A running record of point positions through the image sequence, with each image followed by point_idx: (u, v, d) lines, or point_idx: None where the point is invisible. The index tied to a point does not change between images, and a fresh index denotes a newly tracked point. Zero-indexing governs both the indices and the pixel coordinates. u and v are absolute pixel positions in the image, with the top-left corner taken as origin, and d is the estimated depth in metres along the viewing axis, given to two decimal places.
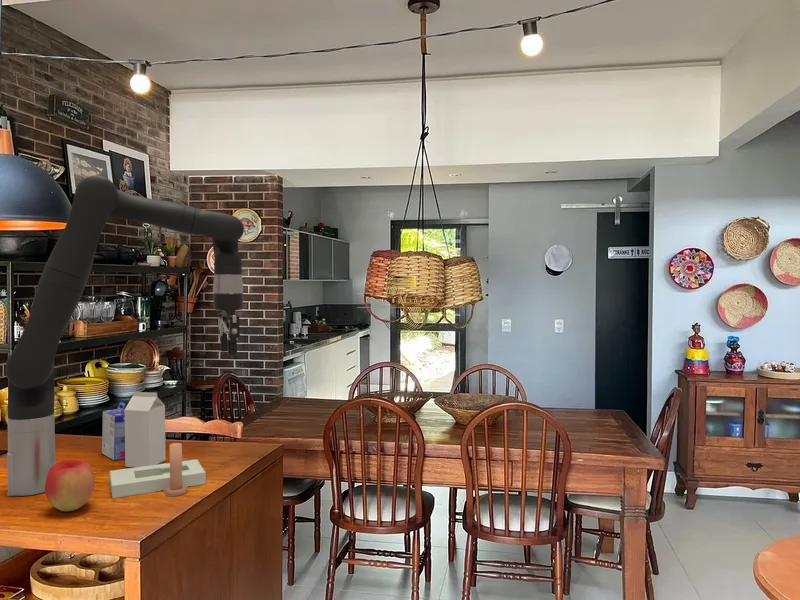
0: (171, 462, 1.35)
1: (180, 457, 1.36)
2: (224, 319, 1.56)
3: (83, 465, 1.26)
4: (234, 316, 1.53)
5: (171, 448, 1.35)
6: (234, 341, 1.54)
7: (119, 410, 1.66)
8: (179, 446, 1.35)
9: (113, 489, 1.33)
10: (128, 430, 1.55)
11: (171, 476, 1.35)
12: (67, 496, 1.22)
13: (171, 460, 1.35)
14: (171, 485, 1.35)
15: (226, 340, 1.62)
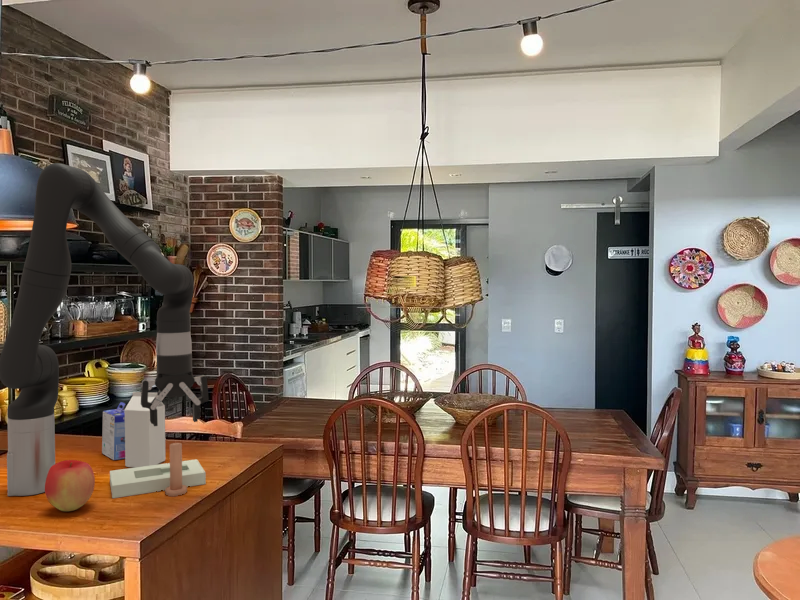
0: (171, 462, 1.35)
1: (180, 457, 1.36)
2: (184, 383, 1.35)
3: (83, 465, 1.26)
4: None
5: (171, 448, 1.35)
6: None
7: (119, 410, 1.66)
8: (179, 446, 1.35)
9: (113, 489, 1.33)
10: (128, 430, 1.55)
11: (171, 476, 1.35)
12: (67, 496, 1.22)
13: (171, 460, 1.35)
14: (171, 485, 1.35)
15: None
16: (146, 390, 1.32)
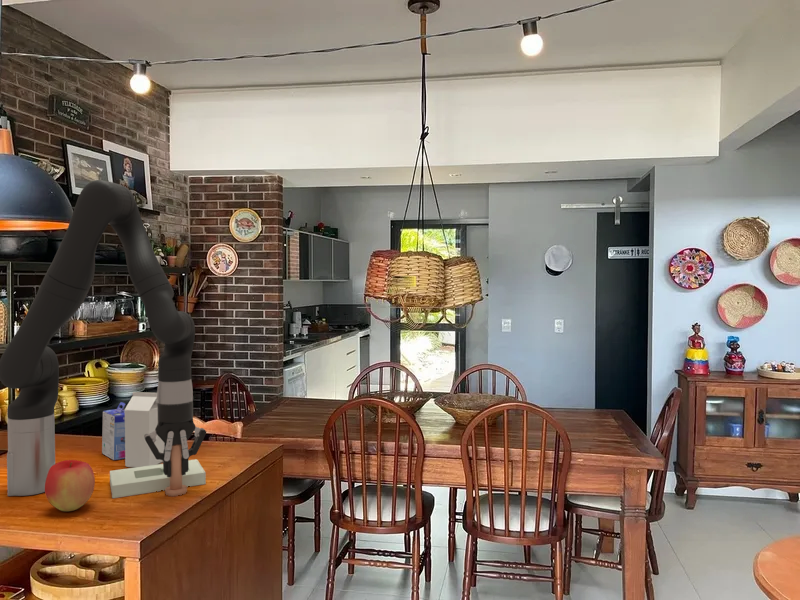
0: (171, 462, 1.35)
1: (180, 457, 1.36)
2: (185, 432, 1.36)
3: (83, 465, 1.26)
4: None
5: None
6: None
7: (119, 410, 1.66)
8: (179, 446, 1.35)
9: (113, 489, 1.33)
10: (128, 430, 1.55)
11: (171, 476, 1.35)
12: (67, 496, 1.22)
13: (171, 460, 1.35)
14: (171, 485, 1.35)
15: None
16: (152, 444, 1.32)
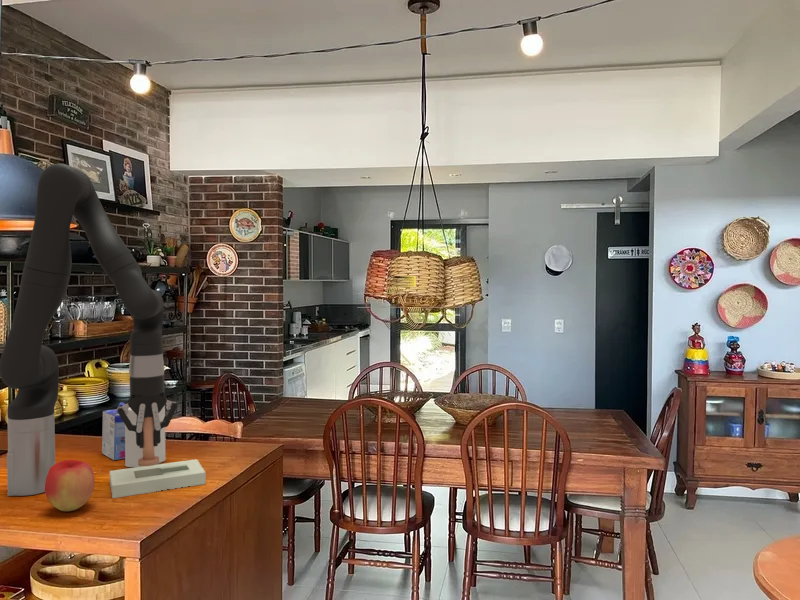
0: (143, 433, 1.40)
1: (152, 429, 1.41)
2: (156, 405, 1.41)
3: (83, 465, 1.26)
4: None
5: (143, 420, 1.40)
6: (159, 430, 1.43)
7: None
8: (151, 418, 1.41)
9: (113, 489, 1.33)
10: (128, 430, 1.55)
11: (143, 447, 1.40)
12: (67, 496, 1.22)
13: (143, 431, 1.40)
14: (143, 455, 1.40)
15: None
16: (124, 416, 1.38)
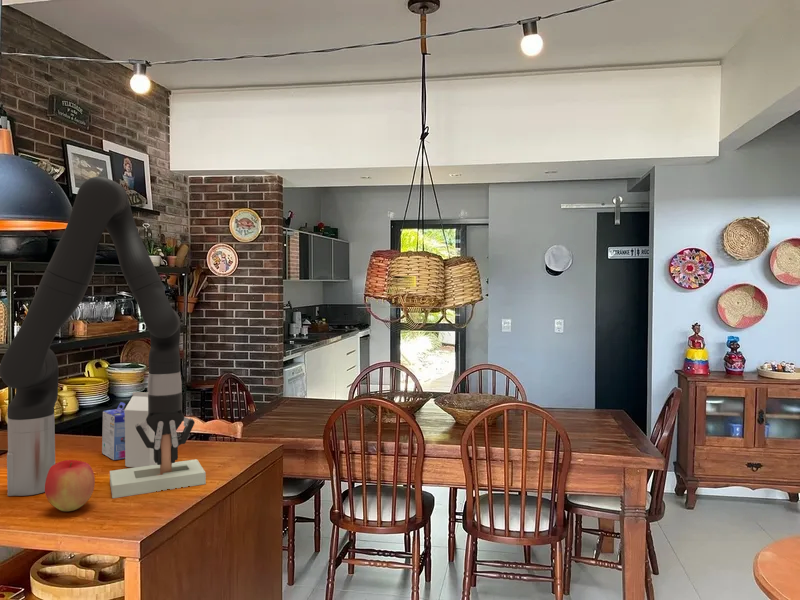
0: (161, 450, 1.42)
1: (169, 446, 1.43)
2: (174, 422, 1.43)
3: (83, 465, 1.26)
4: (193, 421, 1.46)
5: (161, 437, 1.42)
6: None
7: (119, 410, 1.66)
8: (168, 435, 1.43)
9: (113, 489, 1.33)
10: (128, 430, 1.55)
11: (161, 464, 1.42)
12: (67, 496, 1.22)
13: (161, 448, 1.42)
14: (161, 472, 1.42)
15: None
16: (143, 433, 1.40)
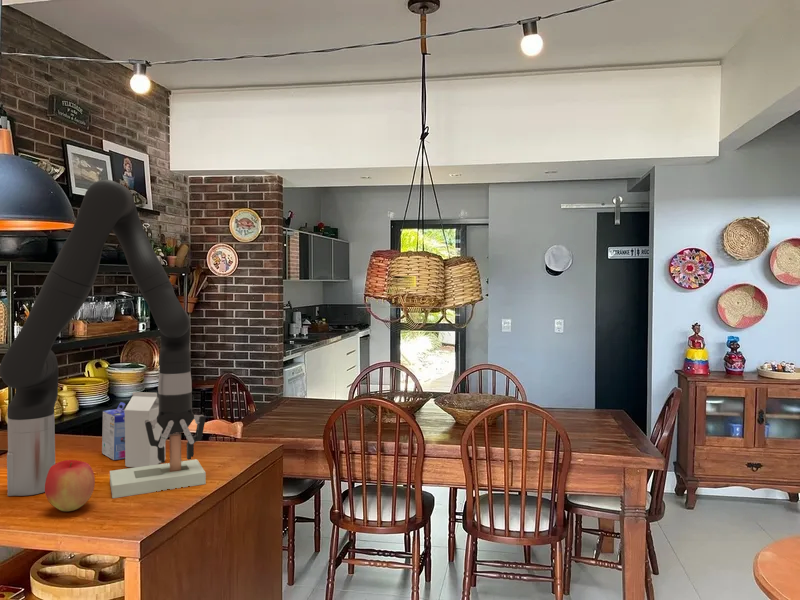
0: (171, 451, 1.43)
1: (179, 447, 1.44)
2: (184, 420, 1.44)
3: (83, 465, 1.26)
4: None
5: (171, 438, 1.43)
6: None
7: (119, 410, 1.66)
8: (178, 436, 1.44)
9: (113, 489, 1.33)
10: (128, 430, 1.55)
11: (171, 465, 1.43)
12: (67, 496, 1.22)
13: (171, 450, 1.43)
14: None
15: None
16: (151, 430, 1.41)
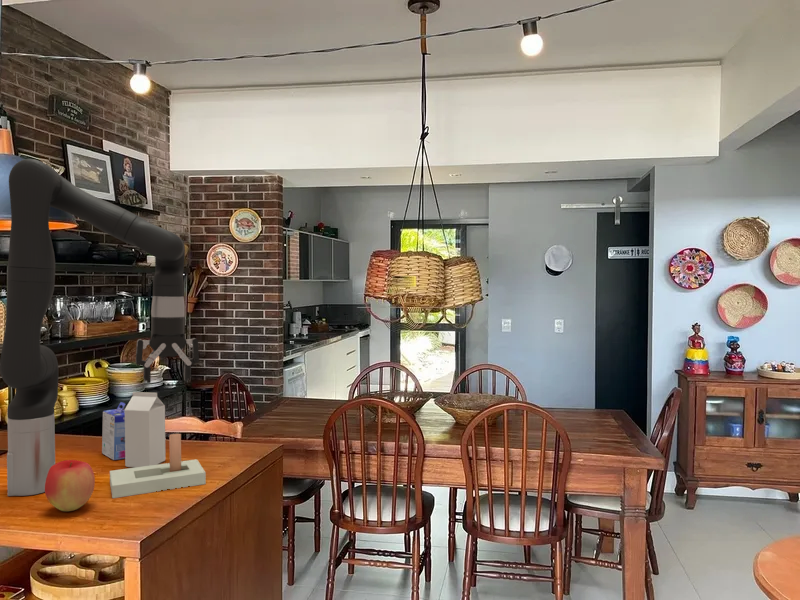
0: (171, 451, 1.43)
1: (179, 447, 1.44)
2: (176, 344, 1.45)
3: (83, 465, 1.26)
4: (196, 339, 1.49)
5: (171, 438, 1.43)
6: None
7: (119, 410, 1.66)
8: (178, 436, 1.44)
9: (113, 489, 1.33)
10: (128, 430, 1.55)
11: (171, 465, 1.43)
12: (67, 496, 1.22)
13: (171, 450, 1.43)
14: None
15: None
16: (141, 349, 1.42)
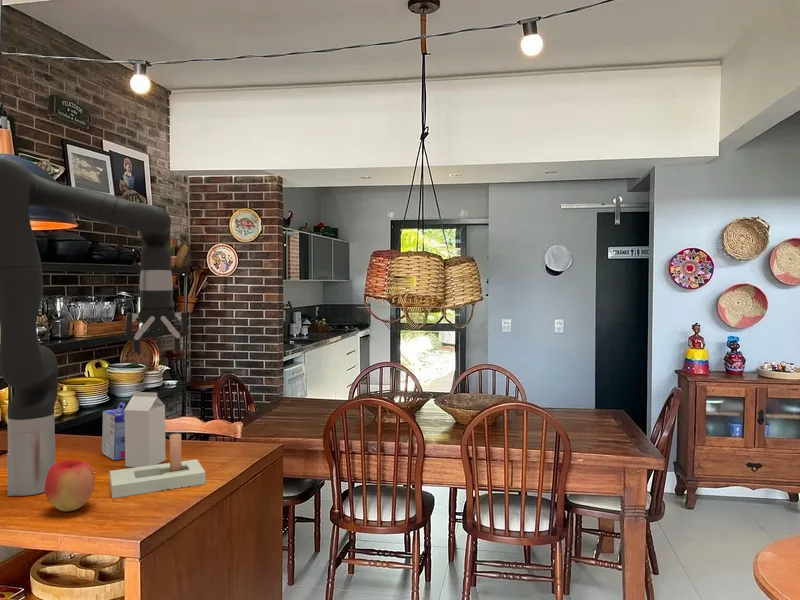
0: (171, 451, 1.43)
1: (179, 447, 1.44)
2: (165, 317, 1.48)
3: (83, 465, 1.26)
4: None
5: (171, 438, 1.43)
6: None
7: (119, 410, 1.66)
8: (179, 436, 1.44)
9: (113, 489, 1.33)
10: (128, 430, 1.55)
11: (171, 465, 1.43)
12: (67, 496, 1.22)
13: (171, 449, 1.43)
14: None
15: None
16: (130, 322, 1.44)
